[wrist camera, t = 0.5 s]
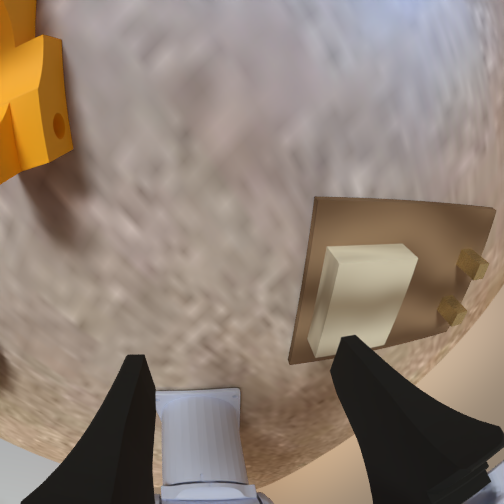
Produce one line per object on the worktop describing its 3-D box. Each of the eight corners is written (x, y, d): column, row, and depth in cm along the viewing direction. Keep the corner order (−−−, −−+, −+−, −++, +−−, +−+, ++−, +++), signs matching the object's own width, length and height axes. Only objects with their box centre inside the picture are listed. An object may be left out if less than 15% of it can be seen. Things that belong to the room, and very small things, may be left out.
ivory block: (373, 328, 23) (384, 344, 21) (307, 338, 22) (315, 357, 20) (402, 243, 19) (418, 258, 17) (326, 246, 18) (339, 263, 16)
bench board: (443, 327, 27) (446, 331, 26) (287, 359, 24) (289, 365, 23) (492, 207, 20) (496, 210, 19) (314, 196, 17) (318, 200, 16)
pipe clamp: (74, 148, 13) (13, 184, 8) (17, 166, 13) (-49, 208, 7) (66, -37, 7) (15, -75, 2) (6, -7, 7) (-55, -25, 1)
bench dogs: (446, 307, 24) (460, 323, 22) (436, 309, 24) (451, 326, 22) (471, 248, 21) (489, 263, 19) (461, 249, 21) (479, 264, 19)
